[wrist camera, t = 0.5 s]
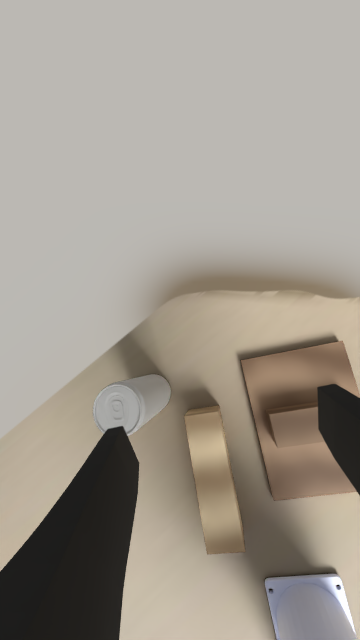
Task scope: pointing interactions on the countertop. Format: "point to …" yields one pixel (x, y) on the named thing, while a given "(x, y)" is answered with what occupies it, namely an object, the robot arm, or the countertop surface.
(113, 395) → the beverage can
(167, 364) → the countertop surface
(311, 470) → the fulcrum
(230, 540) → the beam
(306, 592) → the robot arm
